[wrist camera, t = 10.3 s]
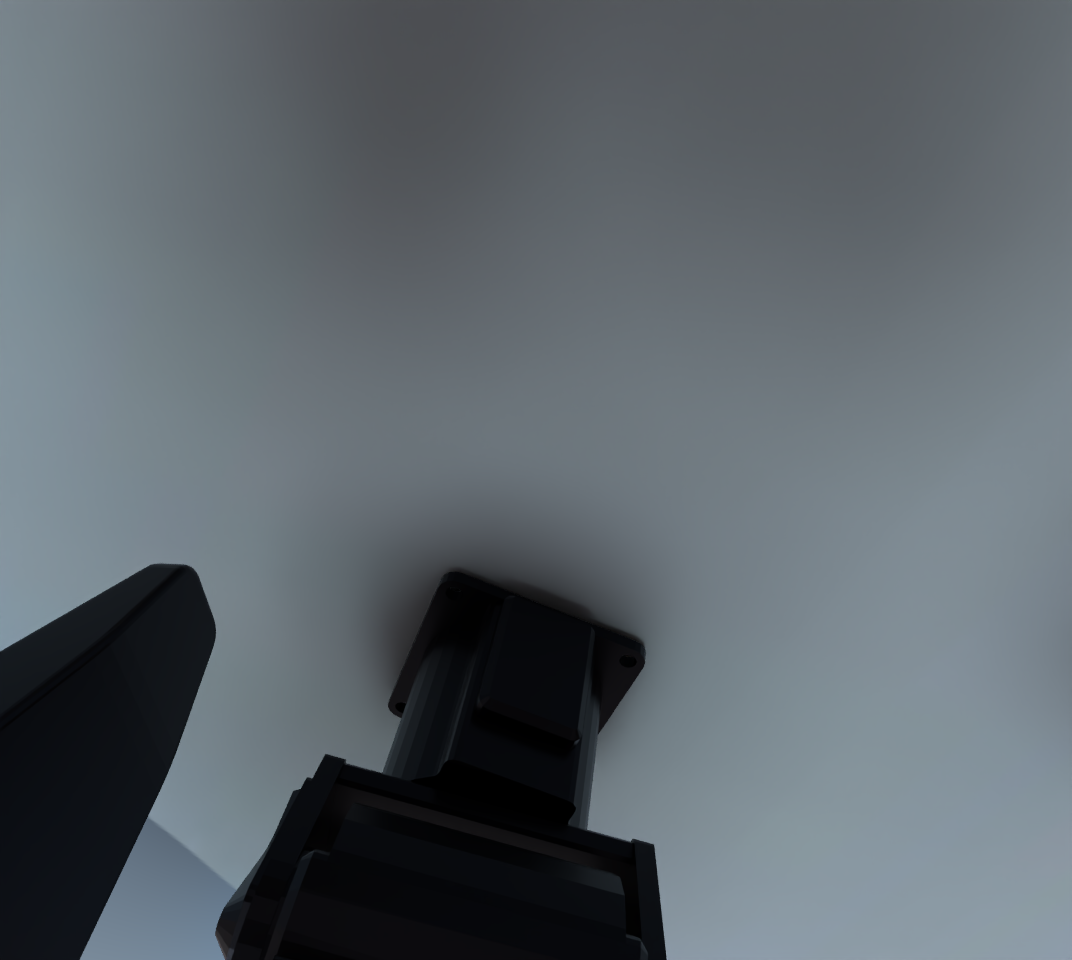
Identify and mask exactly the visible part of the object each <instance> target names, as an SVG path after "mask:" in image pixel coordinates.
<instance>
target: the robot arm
mask: <svg viewBox="0 0 1072 960" xmlns="http://www.w3.org/2000/svg"><path fill="white" fill-rule="evenodd" d="M451 587H454V588H458V589H459V590H461V591H460V592H458V591H454V590H452V589H451ZM215 637H216V627H215V621H214V618H213V615H212V612H211V610H210V607H209V604H208V601H207V598H206V596H205V593H204V590H203V587H202V585H201V582H200V579H199V576H198V574H197V572H196V571H195V570H194V569H193V568H192V567H190V566H188V565H184V564H153V565H150V566H148V567H146V568H144V569H142V570H141V571H139V572H137V573H135V574H134V575H132V576H130V577H128V578H127V579H125V580H123V581H122V582H120V583H118V584H116V585H115V586H113V587H111V588H109V589H108V590H106V591H104V592H102V593H101V594H99V595H97V596H96V597H94V598H92V599H90V600H89V601H87V602H85V603H83V604H82V605H80V606H78V607H77V608H75V609H73V610H71V611H70V612H68V613H66V614H64V615H63V616H61V617H59V618H57V619H56V620H54V621H52V622H51V623H49V624H47V625H45V626H44V627H42V628H40V629H38V630H37V631H35V632H33V633H31V634H30V635H28V636H26V637H25V638H23V639H21V640H19V641H18V642H16V643H14V644H12V645H11V646H9V647H7V648H5V649H4V650H2V651H0V960H80V957H81V955H82V953H83V951H84V949H85V947H86V945H87V942H88V941H89V939H90V937H91V934H92V932H93V930H94V928H95V926H96V924H97V921H98V920H99V917H100V916H101V914H102V911H103V909H104V907H105V905H106V903H107V901H108V899H109V897H110V895H111V892H112V890H113V888H114V886H115V884H116V882H117V880H118V878H119V875H120V874H121V872H122V869H123V867H124V865H125V863H126V861H127V859H128V857H129V855H130V853H131V851H132V848H133V846H134V844H135V842H136V840H137V838H138V836H139V834H140V832H141V830H142V828H143V825H144V823H145V821H146V819H147V817H148V815H149V813H150V811H151V809H152V807H153V804H154V802H155V800H156V798H157V796H158V794H159V792H160V790H161V787H162V785H163V783H164V781H165V778H166V776H167V774H168V772H169V769H170V767H171V764H172V761H173V759H174V756H175V754H176V751H177V748H178V746H179V743H180V740H181V737H182V734H183V731H184V729H185V726H186V723H187V720H188V717H189V714H190V712H191V709H192V706H193V703H194V700H195V697H196V695H197V692H198V689H199V686H200V683H201V681H202V678H203V675H204V672H205V669H206V666H207V664H208V661H209V658H210V655H211V652H212V649H213V646H214V643H215ZM624 655H630V656H633V657H632V658H627V657H624ZM645 656H646V652H645V648H644V647H643V646H642V644H640V643H639V642H637V641H635V640H632V639H630V638H627V637H625V636H622V635H619V634H617V633H614V632H612V631H609V630H607V629H604V628H601V627H599V626H596V625H594V624H591V623H589V622H586V621H583V620H581V619H578V618H576V617H573V616H571V615H568V614H566V613H563V612H560V611H558V610H555V609H553V608H550V607H548V606H545V605H542V604H540V603H537V602H535V601H532V600H530V599H527V598H524V597H522V596H519V595H517V594H514V593H512V592H509V591H507V590H504V589H501V588H499V587H496V586H494V585H491V584H489V583H486V582H483V581H481V580H478V579H476V578H473V577H471V576H468V575H465V574H463V573H459V572H449V573H447V574H445V575H444V576H443V577H442V578H441V581H440V583H439V585H438V588H437V590H436V592H435V594H434V597H433V599H432V601H431V604H430V606H429V608H428V611H427V613H426V615H425V618H424V620H423V622H422V625H421V627H420V629H419V632H418V634H417V636H416V639H415V641H414V643H413V646H412V648H411V650H410V653H409V655H408V657H407V659H406V662H405V664H404V666H403V669H402V671H401V673H400V676H399V678H398V680H397V683H396V685H395V687H394V690H393V692H392V694H391V697H390V700H389V703H388V707H389V709H390V711H391V712H392V713H393V714H394V715H396V716H398V717H400V718H401V721H400V724H399V727H398V729H397V732H396V735H395V738H394V741H393V744H392V747H391V750H390V753H389V755H388V758H387V761H386V764H385V767H384V770H383V773H379V772H376V771H372V770H368V769H365V768H361V767H357V766H354V765H350V764H347V763H346V759H342V758H338V757H335V756H331V755H328V754H325V756H324V758H323V760H322V762H321V763H320V765H319V767H318V769H317V771H316V773H315V775H314V777H313V779H312V778H308V777H307V778H306V780H305V782H304V784H303V786H302V788H301V789H299V790H295V791H293V793H292V795H291V797H290V800H289V802H288V804H287V807H286V809H285V811H284V813H283V816H282V818H281V820H280V823H279V825H278V827H277V829H276V831H275V834H274V836H273V838H272V840H271V842H270V843H269V845H268V847H267V849H266V850H265V852H264V854H263V855H262V857H261V858H260V859H259V861H258V862H257V863H256V865H255V866H254V867H253V869H252V870H251V872H250V873H249V874H248V876H247V877H246V878H245V880H244V881H243V882H242V884H241V885H240V887H239V888H238V889H237V891H236V892H235V894H234V895H233V896H232V898H231V899H230V900H229V902H228V903H227V905H226V906H225V907H224V909H223V911H222V914H221V916H220V919H219V921H218V924H217V928H216V932H215V936H216V938H217V940H218V943H219V945H220V948H221V951H222V953H223V955H224V958H225V960H667V959H666V950H665V940H664V931H663V922H662V913H661V904H660V894H659V885H658V876H657V867H656V858H655V848H654V844H650V843H647V842H643V841H639V840H636V839H632V841H631V842H629V841H626V840H622V839H619V838H615V837H611V836H608V835H604V834H600V833H597V832H593V831H590V830H587V825H588V816H589V807H590V798H591V789H592V781H593V772H594V763H595V754H596V745H597V736H598V734H599V732H600V731H601V730H602V728H603V727H604V725H605V724H606V722H607V721H608V719H609V718H610V716H611V715H612V713H613V712H614V710H615V709H616V707H617V706H618V704H619V703H620V701H621V700H622V698H623V697H624V695H625V694H626V692H627V691H628V690H629V688H630V687H631V685H632V684H633V682H634V681H635V679H636V678H637V676H638V675H639V673H640V672H641V670H642V669H643V667H644V664H645ZM405 703H406V704H405Z"/></svg>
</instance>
